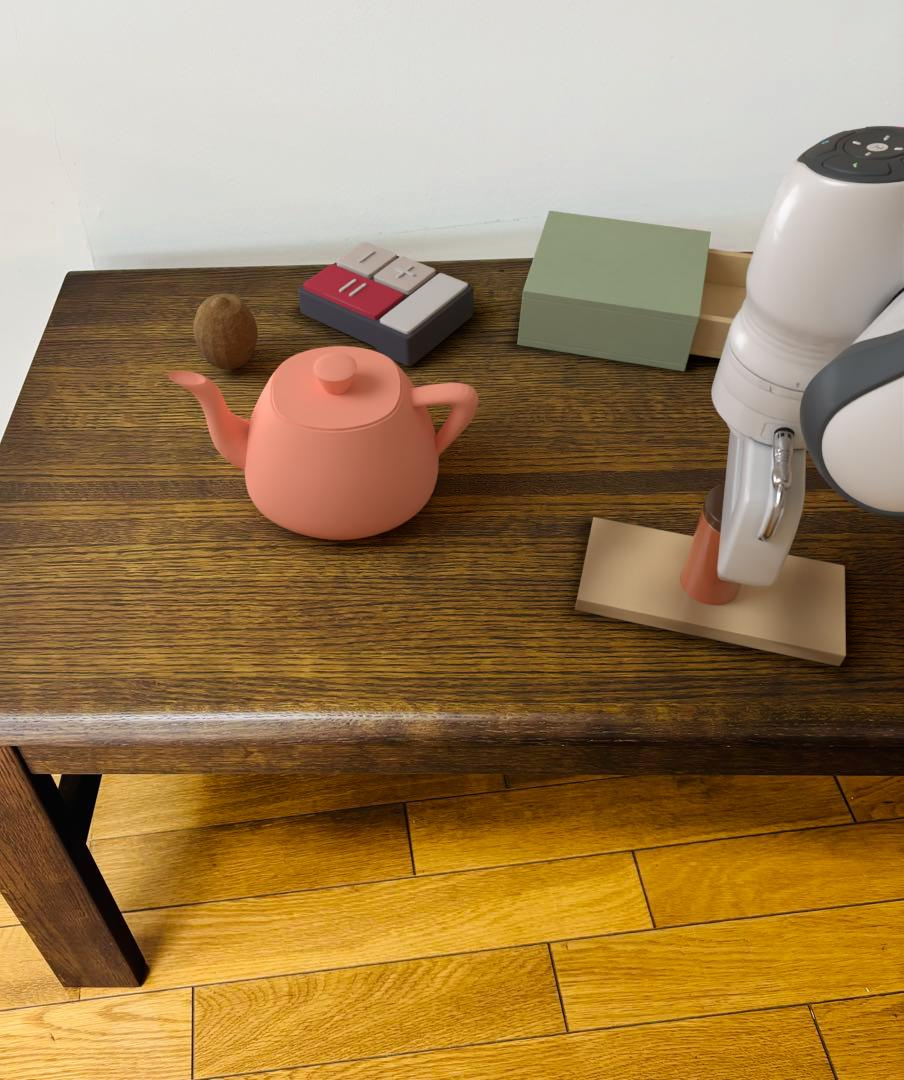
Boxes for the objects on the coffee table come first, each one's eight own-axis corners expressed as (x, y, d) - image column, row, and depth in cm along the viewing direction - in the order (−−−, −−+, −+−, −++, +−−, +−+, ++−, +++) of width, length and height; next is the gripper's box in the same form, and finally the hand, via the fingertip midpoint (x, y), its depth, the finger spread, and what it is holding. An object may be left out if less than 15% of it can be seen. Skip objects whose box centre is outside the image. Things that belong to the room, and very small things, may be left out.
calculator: (363, 235, 108) (475, 279, 101) (365, 270, 112) (475, 314, 104) (294, 283, 103) (408, 332, 96) (299, 318, 106) (410, 368, 99)
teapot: (182, 555, 84) (151, 440, 74) (204, 420, 95) (181, 303, 85) (478, 551, 84) (488, 435, 73) (467, 416, 95) (474, 298, 84)
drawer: (863, 305, 102) (880, 265, 99) (866, 389, 94) (884, 348, 90) (666, 277, 106) (675, 238, 103) (652, 355, 98) (662, 315, 94)
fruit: (187, 367, 100) (173, 301, 94) (231, 336, 103) (220, 271, 97) (230, 393, 98) (219, 326, 92) (274, 360, 101) (266, 294, 95)
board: (838, 576, 81) (845, 565, 80) (839, 667, 75) (846, 655, 74) (591, 528, 85) (593, 516, 84) (574, 610, 79) (577, 598, 78)
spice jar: (741, 566, 80) (772, 489, 73) (737, 610, 77) (770, 535, 70) (682, 554, 81) (708, 477, 74) (677, 598, 78) (703, 522, 71)
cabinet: (696, 286, 107) (711, 231, 102) (684, 371, 98) (699, 316, 93) (542, 264, 110) (549, 210, 105) (517, 344, 101) (522, 290, 96)
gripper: (841, 509, 56) (773, 647, 67) (839, 297, 69) (782, 442, 79) (726, 488, 58) (677, 627, 68) (745, 284, 70) (700, 428, 81)
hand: (733, 526), depth 74 cm, fingers open, 8 cm apart
